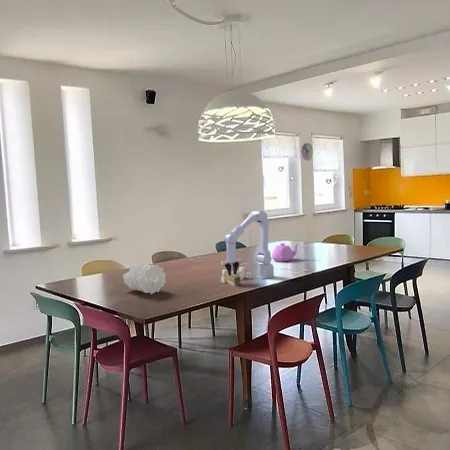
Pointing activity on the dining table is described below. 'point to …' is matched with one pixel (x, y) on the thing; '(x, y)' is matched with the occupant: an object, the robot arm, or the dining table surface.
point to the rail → (232, 279)
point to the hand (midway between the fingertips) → (232, 274)
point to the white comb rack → (239, 273)
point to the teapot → (283, 253)
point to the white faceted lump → (145, 277)
